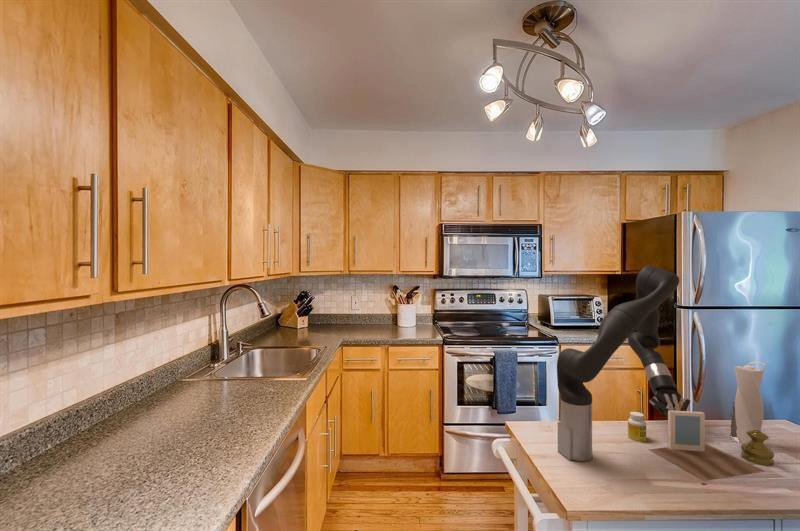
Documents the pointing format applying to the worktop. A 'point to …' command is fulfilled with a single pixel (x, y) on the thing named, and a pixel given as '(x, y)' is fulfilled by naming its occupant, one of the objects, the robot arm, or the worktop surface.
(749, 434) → the brass knob
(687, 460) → the board
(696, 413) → the tile
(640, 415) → the supplement bottle
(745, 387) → the skyscraper
